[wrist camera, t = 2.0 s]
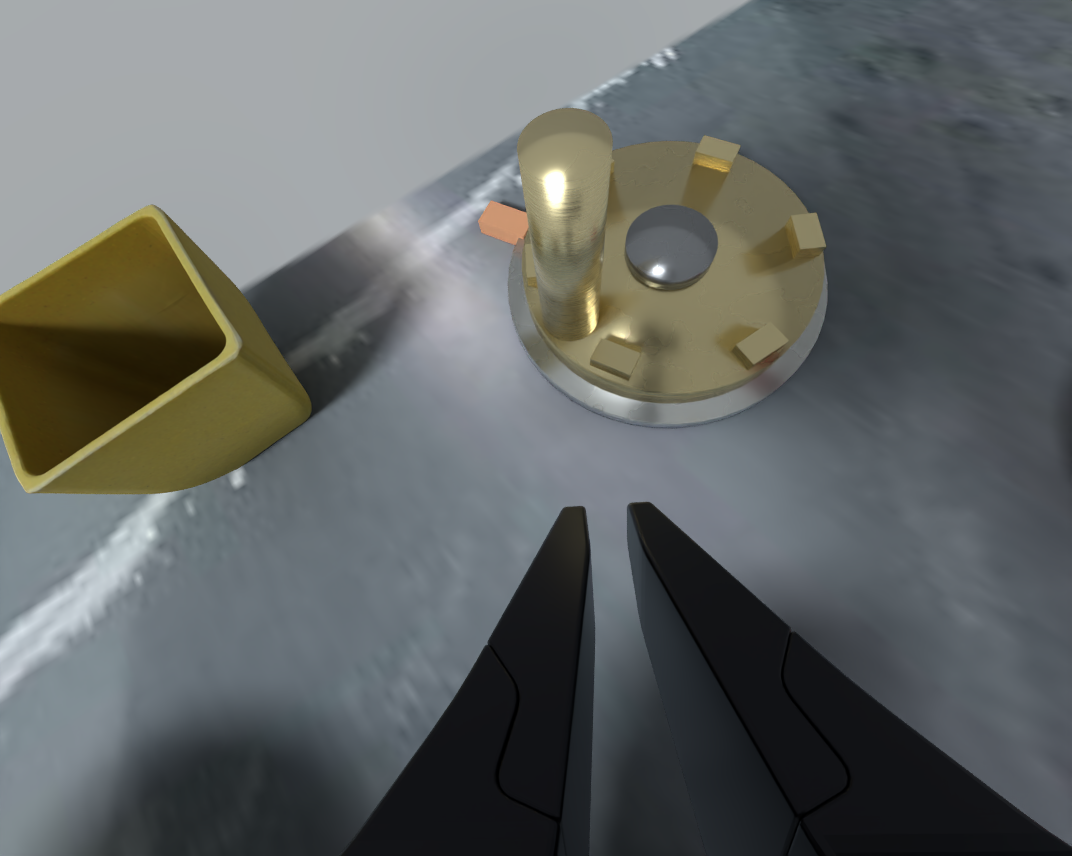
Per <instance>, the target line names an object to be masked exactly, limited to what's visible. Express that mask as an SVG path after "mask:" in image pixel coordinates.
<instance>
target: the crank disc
mask: <svg viewBox="0 0 1072 856" xmlns="http://www.w3.org/2000/svg"><path fill="white" fill-rule="evenodd" d="M612 145H613V140H612V134H611V131H610V129H609V127H608V126H607V124H606V123H605V122H604V121H603V120H602V119H601V118H600V117H598V116H597V115H595V114H593V113H591V112H589V111H586V110H582V109H576V108H562V109H556V110H552V111H549V112H546V113H544V114H542V115H540V116H538V117H536V118H535V119H533V120H532V121H531V122H530V123H529V124H528V125H527V126H526V127H525V128H524V130H523V131H522V133H521V135H520V137H519V140H518V144H517V152H518V159H519V165H520V172H521V179H522V186H523V192H524V199H525V206H526V212H527V219H528V226H529V228H528V231H527V234H526V237H525V241H524V247H523V252H522V275H523V283H524V289H525V294H526V299H527V304H528V307H529V311H530V314H531V318H532V320H533V322H534V325H535V327H536V329H537V331H538V333H539V335H540V336H541V338H542V339H543V341H544V342H545V344H546V346H547V347H548V348H549V349H550V351H551V352H552V353H553V354H554V355H555V356H556V357H557V359H558V360H559V361H560V362H561V363H563V364H564V365H565V366H566V367H567V368H568V369H569V370H571V371H572V372H573V373H575V374H576V375H578V376H579V377H581V378H582V379H583V380H585V381H586V382H588V383H590V384H592V385H594V386H596V387H598V388H600V389H602V390H604V391H607V392H609V393H612V394H615V395H618V396H621V397H624V398H628V399H633V400H637V401H642V402H651V403H661V404H670V403H688V402H695V401H702V400H706V399H710V398H713V397H717V396H721V395H724V394H726V393H728V392H731V391H733V390H736V389H738V388H740V387H742V386H744V385H745V384H747V383H749V382H751V381H752V380H754V379H756V378H757V377H759V376H760V375H761V374H762V373H764V372H765V371H766V370H768V369H769V368H770V367H771V366H772V365H773V364H774V363H775V362H776V361H777V360H778V359H779V358H780V357H781V356H782V355H783V354H784V353H785V352H786V351H787V350H788V349H789V348H790V347H791V346H792V345H793V344H794V343H795V342H796V341H797V339H798V338H799V337H800V336H801V334H802V333H803V331H804V330H805V329H806V327H807V326H808V324H809V323H810V321H811V319H812V317H813V315H814V312H815V310H816V308H817V306H818V303H819V299H820V296H821V293H822V289H823V280H824V254H823V250H824V249H825V248H826V243H825V240H824V237H823V233H822V230H821V226H820V223H819V220H818V216H817V213H808V211H807V209H806V207H805V206H804V205H803V203H802V202H801V201H800V199H799V198H798V197H797V195H796V194H795V193H794V192H793V191H792V190H791V189H790V188H789V187H788V186H787V185H786V184H785V183H784V182H783V181H782V180H780V179H779V178H778V177H777V176H775V175H774V174H773V173H771V172H770V171H769V170H767V169H766V168H764V167H762V166H761V165H759V164H757V163H756V162H754V161H752V160H750V159H748V158H746V157H743V156H741V155H739V154H738V152H739V149H740V146H741V145H738V144H734V143H730V142H727V141H723V140H720V139H716V138H713V137H709V136H705V135H704V136H703V138H702V140H701V142H700V143H692V142H684V141H660V142H648V143H642V144H636V145H631V146H627V147H624V148H620V149H616V150H613V151H612ZM662 205H681V206H686V207H689V208H692V209H694V210H696V211H698V212H700V213H701V214H703V215H704V216H705V217H706V218H707V219H708V220H709V221H710V222H711V223H712V225H713V227H714V228H715V231H716V233H717V237H718V249H717V253H716V255H715V257H714V260H713V262H712V264H711V266H710V268H709V270H708V272H707V273H706V274H705V275H704V277H702V278H701V279H700V280H699V281H697V282H696V283H694V284H692V285H690V286H688V287H685V288H681V289H675V290H663V289H657V288H654V287H651V286H648V285H646V284H644V283H642V282H641V281H639V280H638V279H637V278H636V277H635V276H634V275H633V274H632V273H631V271H630V270H629V268H628V266H627V264H626V261H625V256H624V249H625V242H626V235H627V232H628V229H629V227H630V225H631V224H632V223H633V221H634V220H635V219H636V218H637V217H638V216H639V215H640V214H642V213H644V212H645V211H647V210H649V209H651V208H654V207H657V206H662Z"/></svg>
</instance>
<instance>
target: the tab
mask: <svg viewBox="0 0 1072 856" xmlns="http://www.w3.org/2000/svg"><path fill="white" fill-rule="evenodd" d="M478 222H479V225H480V229H481V232H482V233H484V234H486V235H489V236H492V237H494V238H497V239H500V240H503V241H505V242H508V243H511V244H514V245H516V243H517V240H518V238H521V239H524V238H525V236H526V234H527V231H528V228H529V226H528V219H527V213H526V212H523V211H520V210H517V209H514V208H511V207H508V206H506V205H503V204H500V203H497V202H494V201H490V203H489V204H488V206H487V208H486V209H485V211H484V212H483V214H482V216H481V217H480V219H479V220H478Z"/></svg>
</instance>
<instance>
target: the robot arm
mask: <svg viewBox="0 0 1072 856" xmlns="http://www.w3.org/2000/svg"><path fill="white" fill-rule="evenodd" d="M627 542H628V550H629V557H630V563H631V569H632V575H633V582H634V588H635V594H636V600H637V607H638V613H639V618H640V623H641V627H642V631H643V635H644V639H645V643H646V646H647V650H648V653H649V656H650V660H651V663H652V667H653V670H654V674H655V677H656V681H657V684H658V688H659V691H660V695H661V698H662V702H663V705H664V709H665V712H666V716H667V719H668V723H669V726H670V730H671V733H672V737H673V740H674V744H675V747H676V750H677V754H678V757H679V761H680V764H681V768H682V771H683V775H684V778H685V782H686V785H687V789H688V792H689V796H690V799H691V803H692V806H693V810H694V813H695V817H696V820H697V824H698V827H699V831H700V834H701V837H702V841H703V844H704V848H705V851H706V855H707V856H1072V847H1071V846H1070V845H1068V844H1067V843H1065V842H1064V841H1062V840H1061V839H1059V838H1058V837H1056V836H1055V835H1053V834H1052V833H1050V832H1049V831H1047V830H1046V829H1045V828H1043V827H1042V826H1041V825H1039V824H1038V823H1036V822H1035V821H1034V820H1032V819H1031V818H1030V817H1028V816H1027V815H1025V814H1024V813H1023V812H1021V811H1020V810H1019V809H1017V808H1016V807H1015V806H1013V805H1012V804H1011V803H1010V802H1008V801H1007V800H1006V799H1004V798H1003V797H1002V796H1000V795H999V794H998V793H996V792H995V791H994V790H993V789H991V788H990V787H989V786H987V785H986V784H985V783H983V782H982V781H981V780H979V779H978V778H977V777H975V776H974V775H973V774H972V773H970V772H969V771H968V770H966V769H965V768H964V767H962V766H961V765H960V764H958V763H957V762H956V761H955V760H953V759H952V758H951V757H949V756H948V755H947V754H945V753H944V752H943V751H941V750H940V749H939V748H937V747H936V746H935V745H934V744H932V743H931V742H930V741H928V740H927V739H926V738H924V737H923V736H922V735H920V734H919V733H918V732H917V731H915V730H914V729H913V728H911V727H910V726H909V725H907V724H906V723H905V722H903V721H902V720H901V719H899V718H898V717H897V716H896V715H894V714H893V713H892V712H891V711H889V710H888V709H887V708H886V707H884V706H883V705H882V704H880V703H879V702H878V701H877V700H875V699H874V698H873V697H872V696H870V695H869V694H868V693H867V692H865V691H864V690H863V689H861V688H860V687H859V686H858V685H856V684H855V683H854V682H853V681H851V680H850V679H849V678H848V677H847V676H846V675H844V674H843V673H842V672H841V671H840V670H839V669H837V668H836V667H835V666H834V665H833V664H832V663H830V662H829V661H828V660H827V659H826V658H825V657H823V656H822V655H821V654H820V653H819V652H818V651H816V650H815V649H814V648H813V647H812V646H811V645H810V644H809V643H808V642H806V641H805V640H804V639H803V638H802V637H801V636H800V635H799V634H797V633H796V632H791V628H790V627H789V626H788V625H787V624H786V623H785V622H784V621H783V620H781V619H780V618H779V617H778V616H777V615H776V614H775V613H774V612H773V611H771V610H770V609H769V608H768V607H767V606H766V605H765V604H764V603H762V602H761V601H760V600H759V599H758V598H757V597H756V596H755V595H754V594H752V593H751V592H750V591H749V590H748V589H747V588H746V587H745V586H743V585H742V584H741V583H740V582H739V581H738V580H737V579H736V578H735V577H733V576H732V575H731V574H730V573H729V572H728V571H727V570H726V569H724V568H723V567H722V566H721V565H720V564H719V563H718V562H717V561H716V560H714V559H713V558H712V557H711V556H710V555H709V554H708V553H707V552H706V551H704V550H703V549H702V548H701V547H700V546H699V545H698V544H697V543H695V542H694V541H693V540H692V539H691V538H690V537H689V536H688V535H687V534H685V533H684V532H683V531H682V530H681V529H680V528H679V527H678V526H676V525H675V524H674V523H673V522H672V521H671V520H670V519H669V518H668V517H666V516H665V515H664V514H663V513H662V512H661V511H660V510H659V509H657V508H656V507H655V506H654V505H653V504H652V503H650V502H635V503H629V504H628V506H627ZM594 664H595V616H594V600H593V583H592V566H591V550H590V539H589V531H588V524H587V516H586V509H585V507H583V506H574V507H564V508H563V509H562V511H561V512H560V514H559V516H558V518H557V519H556V521H555V523H554V525H553V527H552V528H551V530H550V532H549V534H548V535H547V537H546V539H545V541H544V542H543V544H542V546H541V548H540V550H539V551H538V553H537V555H536V557H535V558H534V560H533V562H532V564H531V565H530V567H529V569H528V571H527V573H526V574H525V576H524V578H523V580H522V581H521V583H520V585H519V587H518V589H517V590H516V592H515V594H514V596H513V597H512V599H511V601H510V603H509V604H508V606H507V608H506V610H505V612H504V613H503V615H502V617H501V619H500V620H499V622H498V624H497V626H496V627H495V629H494V631H493V633H492V635H491V636H490V638H489V640H488V645H485V647H484V648H483V650H482V652H481V654H480V655H479V657H478V659H477V661H476V663H475V664H474V666H473V668H472V669H471V671H470V673H469V674H468V676H467V678H466V679H465V681H464V683H463V684H462V686H461V687H460V689H459V691H458V692H457V694H456V696H455V697H454V699H453V700H452V702H451V703H450V705H449V706H448V707H447V709H446V710H445V712H444V713H443V715H442V716H441V718H440V719H439V721H438V722H437V723H436V725H435V726H434V728H433V729H432V731H431V732H430V734H429V735H428V736H427V738H426V739H425V740H424V742H423V743H422V745H421V746H420V747H419V749H418V750H417V752H416V753H415V754H414V756H413V757H412V758H411V760H410V761H409V763H408V764H407V765H406V767H405V768H404V770H403V771H402V772H401V774H400V775H399V776H398V778H397V779H396V781H395V782H394V783H393V785H392V786H391V787H390V789H389V790H388V792H387V793H386V794H385V796H384V797H383V799H382V800H381V801H380V803H379V804H378V805H377V807H376V808H375V810H374V811H373V812H372V814H371V815H370V817H369V818H368V819H367V821H366V822H365V823H364V825H363V826H362V827H361V829H360V830H359V831H358V833H357V834H356V835H355V837H354V838H353V839H352V841H351V842H350V843H349V844H348V846H347V847H346V848H345V849H344V850H343V851H342V853H341V854H340V855H339V856H589V838H590V803H591V768H592V734H593V699H594Z"/></svg>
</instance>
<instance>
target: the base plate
mask: <svg viewBox="0 0 1072 856" xmlns="http://www.w3.org/2000/svg"><path fill="white" fill-rule="evenodd" d="M525 237H526V236H525ZM524 241H525V238H524V239H521V238H518V240H517V243H516V246H515V248H514V251H513V254H512V258H511V262H510V267H509V276H508V297H509V305H510V310H511V314H512V319H513V323H514V326H515V329H516V332H517V334H518V337H519V340H520V342H521V344H522V346H523V348H524V350H525V351H526V353H527V355H528V357H529V359H530V360H531V361H532V363H533V364H534V365H535V367H536V368H537V369H538V371H539V372H540V373H541V374H542V375H543V376H544V377H545V378H546V379H547V380H548V381H549V382H550V383H551V384H552V385H553V386H554V387H555V388H556V389H557V390H559V391H560V392H561V393H563V394H564V395H565V396H566V397H568V398H569V399H570V400H572V401H574V402H575V403H577V404H579V405H581V406H582V407H584V408H586V409H588V410H590V411H592V412H594V413H597V414H599V415H602V416H604V417H606V418H609V419H612V420H616V421H620V422H623V423H627V424H631V425H638V426H645V427H651V428H681V427H691V426H699V425H703V424H708V423H712V422H716V421H720V420H723V419H725V418H728V417H731V416H733V415H736V414H739V413H741V412H743V411H745V410H746V409H748V408H750V407H752V406H754V405H756V404H758V403H759V402H761V401H762V400H763V399H765V398H766V397H768V396H769V395H770V394H772V393H773V392H775V391H776V390H777V389H778V388H779V387H780V386H781V385H782V384H783V383H784V382H786V381H787V380H788V379H789V378H790V377H791V376H792V375H793V374H794V373H795V372H796V371H797V370H798V368H799V367H800V366H801V364H802V363H803V362H804V360H805V359H806V358H807V356H808V355H809V353H810V352H811V350H812V348H813V346H814V344H815V342H816V340H817V339H818V336H819V333H820V331H821V328H822V325H823V322H824V318H825V313H826V307H827V298H828V282H827V275H826V269H825V264H824V280H823V289H822V293H821V296H820V299H819V303H818V306H817V308H816V310H815V312H814V315H813V317H812V319H811V321H810V323H809V324H808V326H807V327H806V329H805V330H804V331H803V333H802V334H801V336H800V337H799V338H798V339H797V341H796V342H795V343H794V344H793V345H792V346H791V347H790V348H789V349H788V350H787V351H786V352H785V353H784V354H783V355H782V356H781V357H780V358H779V359H778V360H777V361H776V362H775V363H774V364H773V365H772V366H771V367H770V368H769V369H768V370H766V371H765V372H764V373H762V374H761V375H760V376H759V377H757V378H756V379H754V380H752V381H751V382H749V383H747V384H745V385H744V386H742V387H740V388H738V389H736V390H733V391H731V392H728V393H726V394H724V395H721V396H717V397H713V398H710V399H706V400H702V401H695V402H688V403H670V404H661V403H651V402H642V401H637V400H633V399H628V398H624V397H621V396H618V395H615V394H612V393H609V392H607V391H604V390H602V389H600V388H598V387H596V386H594V385H592V384H590V383H588V382H586V381H585V380H583V379H582V378H581V377H579V376H578V375H576V374H575V373H573V372H572V371H571V370H569V369H568V368H567V367H566V366H565V365H564V364H563V363H561V362H560V361H559V360H558V359H557V357H556V356H555V355H554V354H553V353H552V352H551V351H550V349H549V348H548V347H547V346H546V344H545V342H544V341H543V339H542V338H541V336H540V335H539V333H538V331H537V329H536V327H535V325H534V322H533V320H532V318H531V314H530V311H529V307H528V304H527V299H526V294H525V289H524V283H523V275H522V252H523V247H524ZM717 249H718V237H717V233H716V231H715V228H714V227H713V225H712V223H711V222H710V221H709V220H708V219H707V218H706V217H705V216H704V215H703V214H701V213H700V212H698V211H696V210H694V209H692V208H689V207H686V206H681V205H662V206H657V207H654V208H651V209H649V210H647V211H645V212H644V213H642V214H640V215H639V216H638V217H637V218H636V219H635V220H634V221H633V223H632V224H631V225H630V227H629V229H628V232H627V235H626V242H625V249H624V256H625V261H626V264H627V266H628V268H629V270H630V271H631V273H632V274H633V275H634V276H635V277H636V278H637V279H638V280H639V281H641V282H642V283H644V284H646V285H648V286H651V287H654V288H657V289H663V290H675V289H681V288H685V287H688V286H690V285H692V284H694V283H696V282H697V281H699V280H700V279H701V278H702V277H704V275H705V274H706V273H707V272H708V270H709V268H710V266H711V264H712V262H713V260H714V257H715V255H716V253H717Z"/></svg>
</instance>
